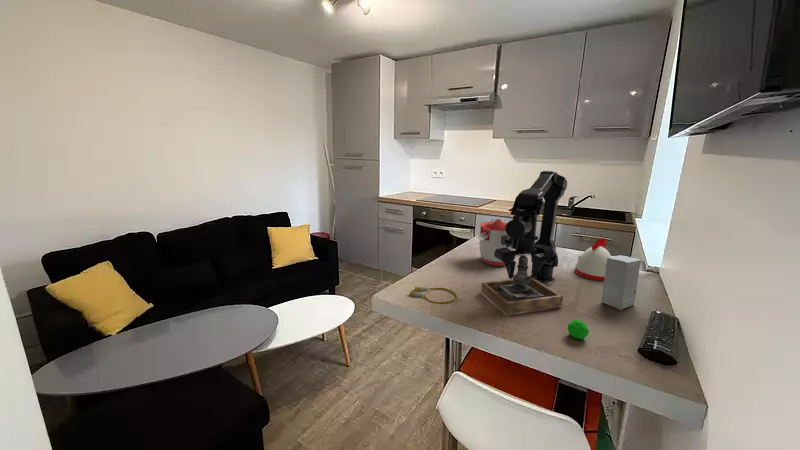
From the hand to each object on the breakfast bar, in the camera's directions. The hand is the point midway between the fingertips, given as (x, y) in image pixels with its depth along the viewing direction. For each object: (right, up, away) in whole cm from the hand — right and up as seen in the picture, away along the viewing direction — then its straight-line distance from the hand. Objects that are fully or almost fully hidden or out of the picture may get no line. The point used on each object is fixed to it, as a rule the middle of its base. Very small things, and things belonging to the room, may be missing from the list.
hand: (521, 277), depth 106 cm
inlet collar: (0, -8, +2) cm, 8 cm away
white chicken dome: (+39, -3, +25) cm, 47 cm away
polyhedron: (+8, -13, -19) cm, 25 cm away
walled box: (0, -8, +2) cm, 8 cm away
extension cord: (-28, -8, +6) cm, 30 cm away
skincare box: (+31, -9, 0) cm, 33 cm away
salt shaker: (0, -4, +1) cm, 4 cm away
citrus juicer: (+2, 0, +38) cm, 38 cm away
